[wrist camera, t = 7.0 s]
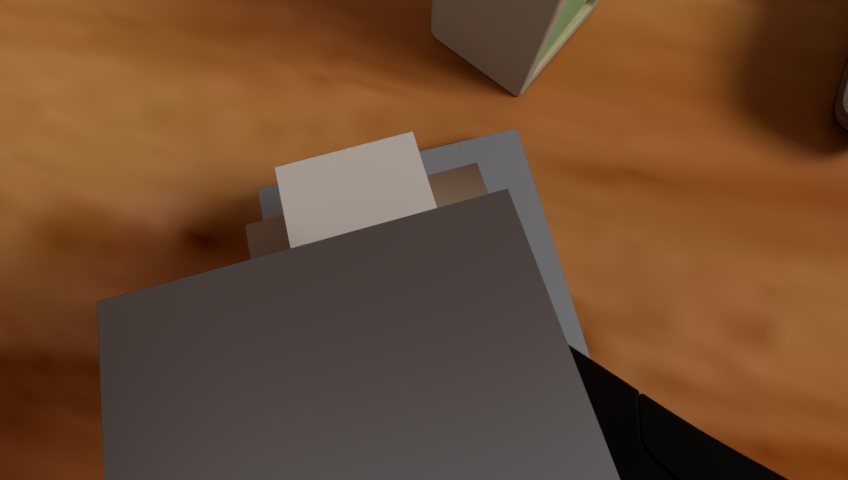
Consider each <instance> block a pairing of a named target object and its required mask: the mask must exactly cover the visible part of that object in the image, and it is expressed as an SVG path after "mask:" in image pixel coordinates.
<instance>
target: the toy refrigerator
mask: <svg viewBox="0 0 848 480" xmlns="http://www.w3.org/2000/svg"><path fill="white" fill-rule="evenodd" d="M598 1H599V0H432V16H431V31H432V34H433V36H434V37H435V38H436V39H437V40H439V41H440V42H441V43H443V44H444V45H446V46H447V47H448V48H450V49H451V50H452V51H454V52H455V53H456V54H458V55H459V56H461V57H462V58H464V59H465V60H466V61H467V62H469V63H470V64H471V65H473V66H474V67H476V68H477V69H478V70H480V71H481V72H482V73H483V74H485V75H487V76H488V77H489V78H491V79H492V80H494V81H495V82H496V83H498V84H499V85H500V86H502V87H503V88H505V89H506V90H507V91H509V92H510V93H512V94H513V95H514V96H520V95H521V94H522V93H523V92H524V91H525V90H526V88H527V87H528V86H529V85H530V84H531V82H532V81H533V80H534V79H535V78H536V77H537V75H538V74H539V73H540V72H541V71H542V70H543V68H544V67H545V66H546V65H547V64H548V63H549V61H550V60H551V59H552V58H553V57H554V55H555V54H556V53H557V52H558V51H559V50H560V48H561V47H562V46H563V45H564V44H565V42H566V41H567V40H568V39H569V38H570V36H571V35H572V34H573V33H574V32H575V31H576V29H577V28H578V27H579V26H580V25H581V24H582V22H583V21H584V20H585V19H586V18H587V17H588V15H589V14H590V13H591V12H592V11H593V9H594V8H595V6H596V5H597V3H598Z"/></svg>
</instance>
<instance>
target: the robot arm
mask: <svg viewBox="0 0 848 480" xmlns="http://www.w3.org/2000/svg"><path fill="white" fill-rule="evenodd" d="M568 345H569V344H568ZM569 348H570V351H571V353H572V356H573V358H574V361H575V364H576V366H577V369H578V371H579V374H580V377H581V379H582V382H583V384H584V387H585V390H586V392H587V395H588V397H589V400H590V402H591V405H592V408H593V410H594V413H595V415H596V418H597V421H598V423H599V426H600V428H601V431H602V434H603V436H604V439H605V441H606V444H607V446H608V449H609V452H610V454H611V457H612V459H613V462H614V465H615V467H616V470H617V472H618V475H619V478H620V480H788V479H786V478H785V477H783V476H781V475H779V474H777V473H776V472H774V471H772V470H770V469H768V468H766V467H765V466H763V465H761V464H759V463H757V462H755V461H754V460H752V459H750V458H748V457H746V456H745V455H743V454H741V453H739V452H737V451H736V450H734V449H732V448H730V447H729V446H727V445H725V444H723V443H722V442H720V441H718V440H716V439H715V438H713V437H711V436H710V435H708V434H706V433H704V432H703V431H701V430H699V429H697V428H696V427H694V426H693V425H691V424H690V423H688V422H686V421H685V420H683V419H682V418H680V417H678V416H677V415H675V414H674V413H672V412H671V411H669V410H667V409H666V408H664V407H663V406H661V405H660V404H658V403H657V402H655V401H654V400H652V399H651V398H649V397H648V396H646V395H645V394H640V395H639V391H638V390H637V389H635V388H634V387H632V386H631V385H629V384H628V383H626V382H625V381H623V380H622V379H620V378H619V377H617V376H616V375H614V374H613V373H611V372H610V371H608V370H607V369H605V368H604V367H602V366H601V365H599V364H597V363H596V362H594V361H593V360H591V359H590V358H588V357H587V356H585V355H584V354H582V353H581V352H579V351H578V350H576V349H575V348H573V347H572V346H570V345H569Z"/></svg>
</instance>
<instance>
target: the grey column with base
mask: <svg viewBox="0 0 848 480" xmlns="http://www.w3.org/2000/svg"><path fill="white" fill-rule="evenodd" d="M427 178H428V181H429V184H430V187H431V190H432V193H433V197H434V200H435V203H436V206H437V208H435V209H431V210H428V211H424V212H421V213H417V214H413V215H410V216H406V217H402V218H399V219H395V220H392V221H388V222H384V223H381V224H377V225H374V226H370V227H366V228H363V229H359V230H355V231H352V232H348V233H345V234H341V235H337V236H334V237H330V238H326V239H323V240H319V241H316V242H312V243H308V244H305V245H301V246H297V247H294V248H290V243H289V238H288V233H287V228H286V223H285V218H284V215H280V216H276V217H273V218H269V219H265V220H262V221H258V222H254V223H251V224H247V225H245V228H246V235H247V241H248V247H249V253H250V260H247V261H243V262H240V263H236V264H232V265H229V266H225V267H221V268H218V269H214V270H211V271H207V272H203V273H200V274H196V275H193V276H189V277H185V278H182V279H178V280H174V281H171V282H167V283H164V284H160V285H156V286H153V287H149V288H145V289H142V290H138V291H135V292H131V293H127V294H124V295H120V296H117V297H113V298H109V299H106V300H102V301H98V302H97V316H98V340H99V364H100V389H101V413H102V437H103V461H104V480H620V478H619V475H618V472H617V470H616V467H615V465H614V462H613V459H612V457H611V454H610V452H609V449H608V446H607V444H606V441H605V439H604V436H603V434H602V431H601V428H600V426H599V423H598V421H597V418H596V415H595V413H594V410H593V408H592V405H591V402H590V400H589V397H588V395H587V392H586V390H585V387H584V384H583V382H582V379H581V377H580V374H579V371H578V369H577V366H576V364H575V361H574V358H573V356H572V353H571V351H570V348H569V345H568V343H567V340H566V338H565V335H564V333H563V330H562V327H561V325H560V322H559V320H558V317H557V314H556V312H555V309H554V307H553V304H552V301H551V299H550V296H549V294H548V291H547V289H546V286H545V283H544V281H543V278H542V276H541V273H540V270H539V268H538V265H537V263H536V260H535V257H534V255H533V252H532V250H531V247H530V244H529V242H528V239H527V237H526V234H525V232H524V229H523V226H522V224H521V221H520V219H519V216H518V213H517V211H516V208H515V206H514V203H513V200H512V198H511V195H510V193H509V190H508V188H507V189H504V190H500V191H497V192H493V193H489V194H488V191H487V189H486V186H485V183H484V180H483V178H482V175H481V172H480V170H479V167H478V164H477V162H476V163H472V164H469V165H465V166H461V167H457V168H454V169H450V170H446V171H443V172H439V173H435V174H432V175H428V176H427Z"/></svg>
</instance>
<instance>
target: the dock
mask: <svg viewBox="0 0 848 480" xmlns="http://www.w3.org/2000/svg"><path fill="white" fill-rule="evenodd" d="M419 153H420V156H421V159H422V162H423V166H424V169H425V172H426V175H427V176H428V175H432V174H435V173H439V172H443V171H446V170H450V169H454V168H457V167H461V166H465V165H469V164H472V163H476V162H477V164H478V167H479V170H480V172H481V175H482V178H483V180H484V183H485V186H486V189H487V191H488V194H489V193H493V192H497V191H500V190H504V189H507V188H508V190H509V193H510V195H511V198H512V200H513V203H514V206H515V208H516V211H517V213H518V216H519V219H520V221H521V224H522V226H523V229H524V232H525V234H526V237H527V239H528V242H529V244H530V247H531V250H532V252H533V255H534V257H535V260H536V263H537V265H538V268H539V270H540V273H541V276H542V278H543V281H544V283H545V286H546V289H547V291H548V294H549V296H550V299H551V301H552V304H553V307H554V309H555V312H556V314H557V317H558V320H559V322H560V325H561V327H562V330H563V333H564V335H565V338H566V340H567V343H568V344H569V345H570V346H572V347H573V348H575V349H576V350H578V351H579V352H581V353H582V354H584V355H585V356H587V357H588V358H590V355H589V352H588V349H587V346H586V343H585V340H584V337H583V334H582V330H581V327H580V324H579V321H578V318H577V315H576V312H575V309H574V305H573V302H572V299H571V296H570V293H569V290H568V287H567V284H566V281H565V277H564V274H563V271H562V268H561V265H560V262H559V259H558V256H557V252H556V249H555V246H554V243H553V240H552V237H551V234H550V231H549V227H548V224H547V221H546V218H545V215H544V212H543V209H542V206H541V202H540V199H539V196H538V193H537V190H536V187H535V184H534V181H533V177H532V174H531V171H530V168H529V165H528V162H527V159H526V156H525V153H524V149H523V146H522V143H521V140H520V137H519V134H518V131H517V129H514V130H510V131H506V132H501V133H497V134H493V135H488V136H484V137H480V138H475V139H471V140H467V141H462V142H458V143H454V144H449V145H445V146H441V147H436V148H432V149H428V150H423V151H419ZM258 195H259V200H260V206H261V212H262V217H263V220H265V219H269V218H273V217H276V216H280V215H284V212H283V207H282V202H281V197H280V192H279V187H278V184H276V185H272V186H267V187H263V188H259V189H258Z"/></svg>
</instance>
